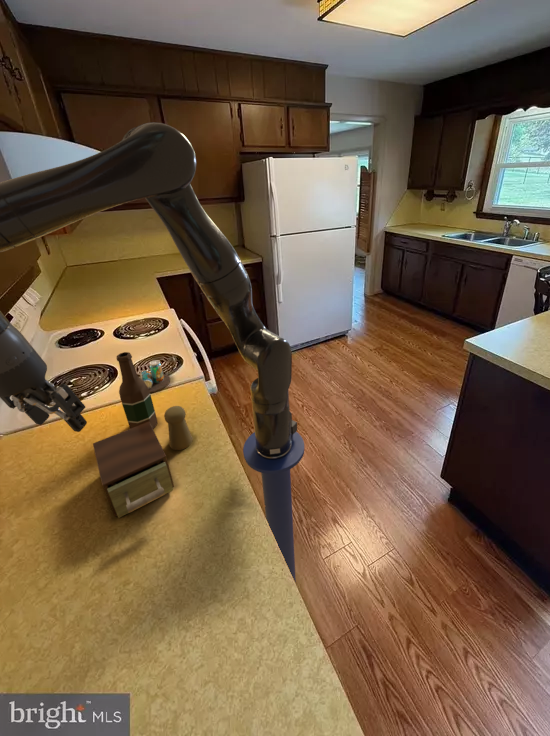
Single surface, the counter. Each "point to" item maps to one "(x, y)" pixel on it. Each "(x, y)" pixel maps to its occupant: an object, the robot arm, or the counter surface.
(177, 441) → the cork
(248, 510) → the counter surface
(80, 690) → the counter surface
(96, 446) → the cabinet
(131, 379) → the beer bottle
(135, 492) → the drawer
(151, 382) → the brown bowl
